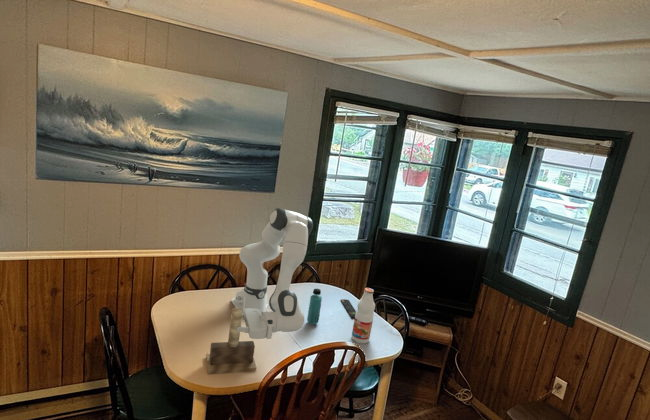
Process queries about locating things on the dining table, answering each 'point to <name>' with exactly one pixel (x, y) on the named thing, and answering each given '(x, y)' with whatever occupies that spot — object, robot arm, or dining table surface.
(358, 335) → the fruit juice
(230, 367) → the fulcrum ridge
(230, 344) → the maple dowel
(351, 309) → the remote control
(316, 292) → the beverage bottle
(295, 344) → the dining table surface
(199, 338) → the dining table surface
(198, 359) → the dining table surface
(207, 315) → the dining table surface
